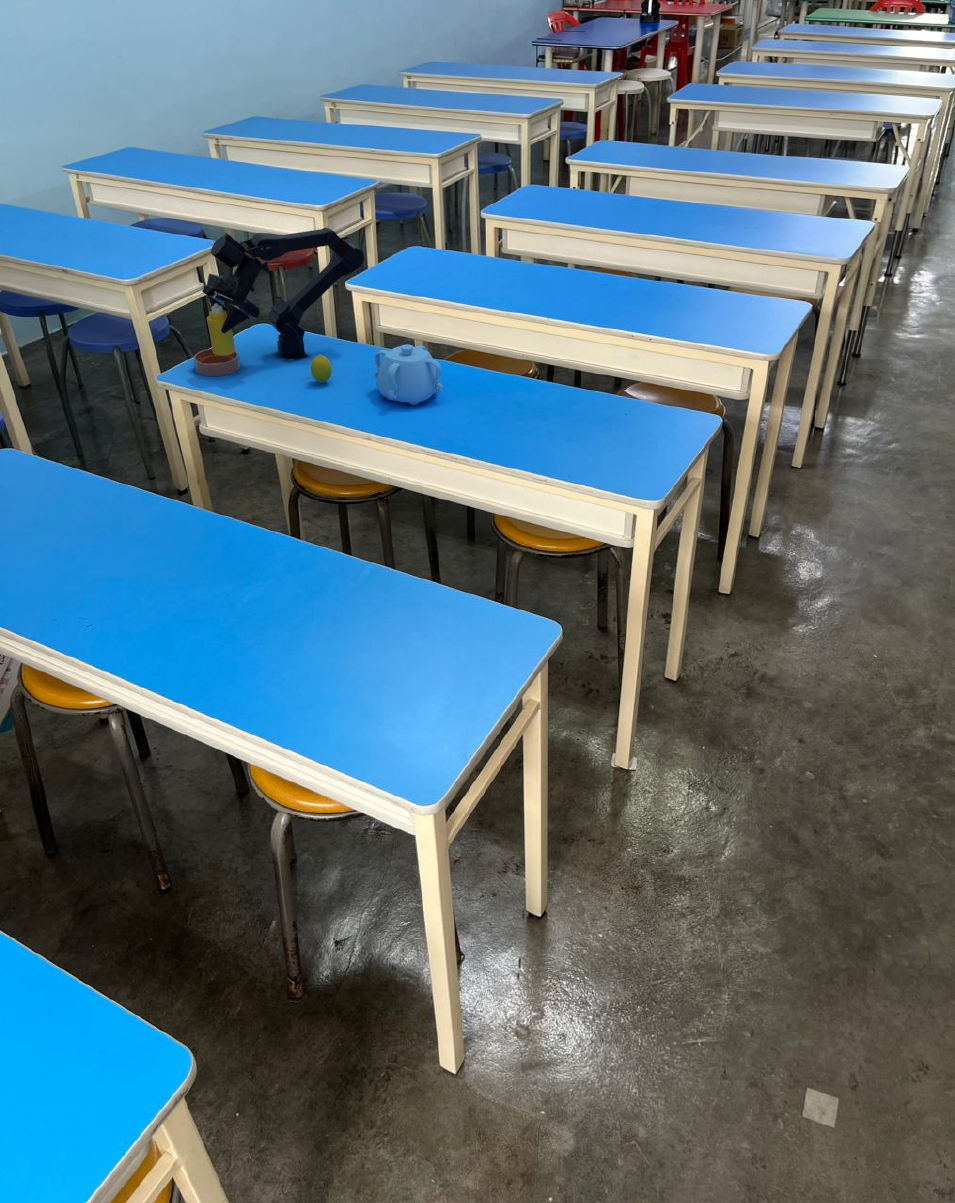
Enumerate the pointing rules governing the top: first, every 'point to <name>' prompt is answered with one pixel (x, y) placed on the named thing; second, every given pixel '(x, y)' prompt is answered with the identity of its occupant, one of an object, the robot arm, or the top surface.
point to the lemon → (321, 368)
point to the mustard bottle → (220, 340)
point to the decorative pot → (407, 374)
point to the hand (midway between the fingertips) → (215, 329)
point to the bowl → (216, 363)
